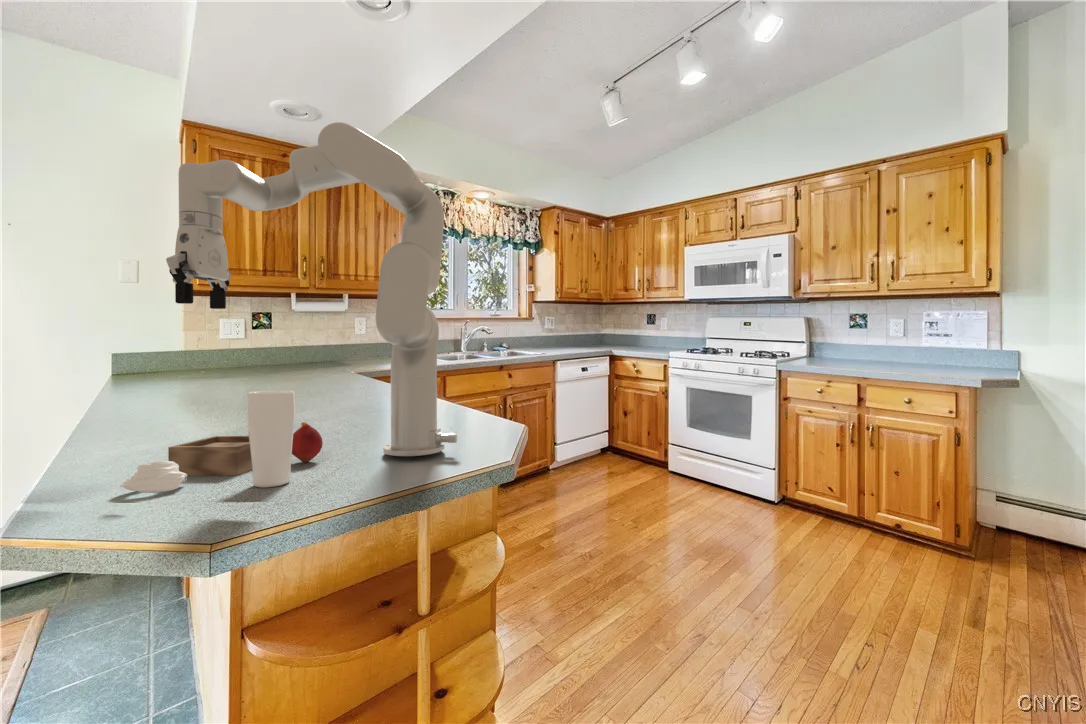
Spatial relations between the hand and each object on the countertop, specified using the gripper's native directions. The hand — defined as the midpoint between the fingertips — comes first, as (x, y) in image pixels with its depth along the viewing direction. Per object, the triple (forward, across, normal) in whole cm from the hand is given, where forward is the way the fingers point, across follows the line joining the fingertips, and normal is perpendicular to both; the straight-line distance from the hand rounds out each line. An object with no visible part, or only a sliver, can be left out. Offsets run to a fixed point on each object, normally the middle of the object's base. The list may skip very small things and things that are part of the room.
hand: (202, 306), depth 99 cm
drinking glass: (+32, -24, -28) cm, 49 cm away
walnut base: (+32, -12, -13) cm, 36 cm away
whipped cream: (+32, -28, -12) cm, 44 cm away
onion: (+32, -8, -26) cm, 42 cm away
